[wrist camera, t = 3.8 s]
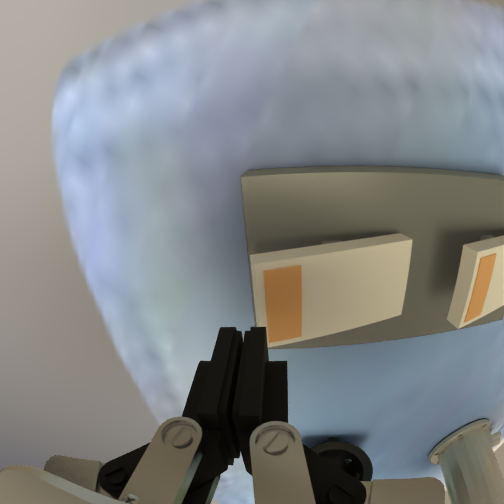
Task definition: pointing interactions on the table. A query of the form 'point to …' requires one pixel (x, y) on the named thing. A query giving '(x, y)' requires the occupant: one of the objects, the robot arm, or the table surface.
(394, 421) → the table surface
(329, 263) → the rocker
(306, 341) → the switch block
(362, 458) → the muzzle brake
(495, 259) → the block
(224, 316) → the table surface
